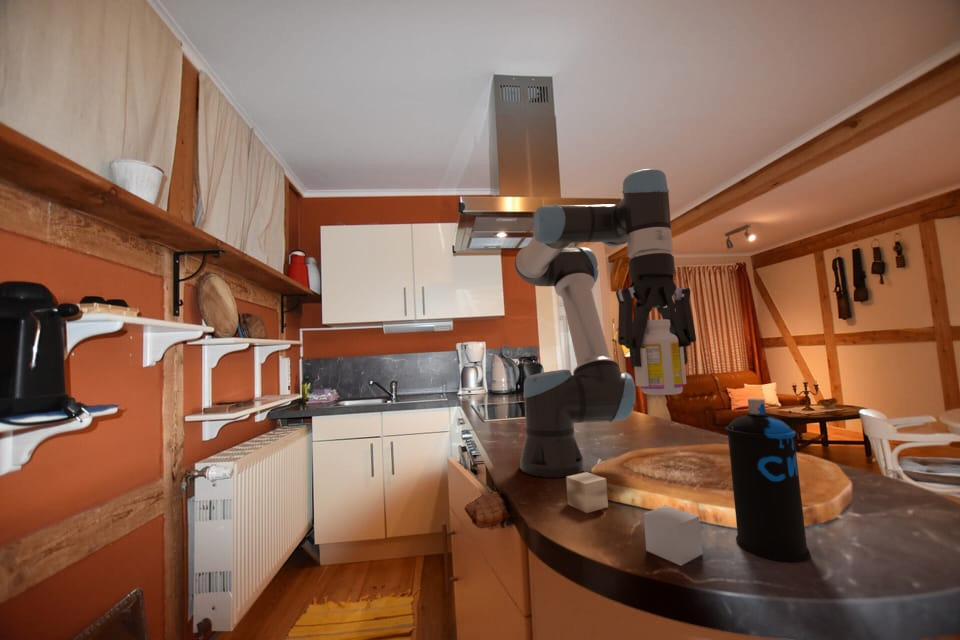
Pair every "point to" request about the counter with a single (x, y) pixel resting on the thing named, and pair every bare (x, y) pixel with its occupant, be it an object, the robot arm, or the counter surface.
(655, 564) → the counter surface
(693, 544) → the grey block
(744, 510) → the aerosol can
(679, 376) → the supplement bottle
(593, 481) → the birch block
